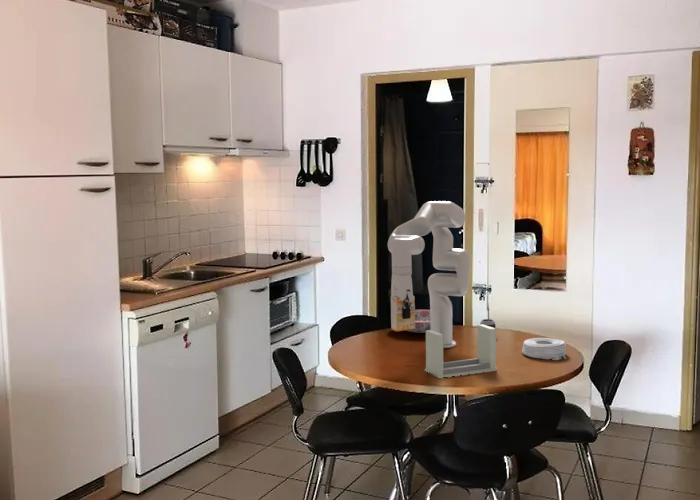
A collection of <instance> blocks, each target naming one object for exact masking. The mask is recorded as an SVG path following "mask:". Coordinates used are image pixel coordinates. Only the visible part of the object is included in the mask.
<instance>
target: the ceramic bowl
mask: <svg viewBox="0 0 700 500" xmlns="http://www.w3.org/2000/svg"><path fill="white" fill-rule="evenodd" d="M453 316H454V315H452V318H453ZM426 330H430V309H415V329H409V330H405V331H407V332H410V333H416V334H417V333H418V334H426Z"/></svg>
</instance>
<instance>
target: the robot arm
mask: <svg viewBox="0 0 700 500" xmlns="http://www.w3.org/2000/svg"><path fill="white" fill-rule="evenodd" d="M465 221H466V213H465V211H464V209H463V208H462V207H461V206H459V205H458V204H456V203H455V202H452V201H449V200H448V201H446V200H442V201H441V200H438V201H436V200H434V201H432V200H431V201H427V202H425V203H423V204H422V206H421V207H420V208H419V210H418V212H416V214H415V216H414V217H413V218H412V219H410V220H408V221H406V222H404V223H401V224H400V225H398V226H396V228H395V229H394V230H393V231H392V233H391V234H390V235H389V238H388V241H387V249H388V251H389V252H390V254H391V280H390V281H391V282H390V284H391V288H390V295H391V296H395V297H398V298H399V301H402V304H403V309H402V318H403V319H408V318H410V317H411V316H410V308H411V304H412V302H413V300H412V298H413V296H414V292H413V291H414V290H413V288H414V287H413V279H412V275H413V270H412V269H413V265H412V263H413V262H412V256H415V255H416V256H417V255H420V254H421V253H423V251H424V250H425V245H426V244H425V243H426V242H425V240H424V238H423V236H426V235H429V234H430V233H432V236H433V244H432V246H433V247H432V266H433V268H435V270H439V271H452V272H453V271H454V272H456V273H447V272H446V273H443V272H437V273H433V274H431V275H430V276H429V277H428V279H427V289H428V294H429V305H430V306H429V308H430V309H429V310H430V330H433V331H435V332H438V333H440V334H443V349H447V348H448V349H449V348H454V347H456V345H457V342H456V341H455V340H453V317H452V316H453V304H452V301H451V300H450V297H449V296H451V297H463V296H464V297H465V296H466V295H467V293H468V291H469V282H470V264H471V263H470V262H471V261H470V254H469V252H468V251H467V250H466V249H464V248H454V236H453V234H452V232H451V230H450V228H454V229H457V228H461V227H463V226H464V224H465ZM391 296H390V297H391ZM405 299H408V300H405ZM405 302H407V303H406V304H405Z"/></svg>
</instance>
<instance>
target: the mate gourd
mask: <svg viewBox="0 0 700 500" xmlns="http://www.w3.org/2000/svg"><path fill="white" fill-rule="evenodd" d="M486 305H487V318H483V319H481V320H480V323H479V325H480V324H484V325H487V326H490V327H493V328H496V326H497V325H496V322H495V320H493V319H490V306H489V305H490V304H489V302H487V303H486ZM496 329H497V328H496Z"/></svg>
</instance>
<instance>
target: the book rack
mask: <svg viewBox="0 0 700 500" xmlns="http://www.w3.org/2000/svg"><path fill="white" fill-rule="evenodd" d="M476 326H477V327H476V328H477V329H476V330H477V333H476V334H477V342H476V343H477V345H476V346H477V347H476V348H477V357H475V358H469V359H461V360H454V361H453V360H452V361H444V348H443V334H440V333H438V332H435V331H433V330H426V333H425V368H424V372H425V371H426V372H425V373H427V372H428V373H427V374H429V373H431V374H433V375H435V376H436V377H435V376H434V377H435V378H437V377H438V378H437V379H439V378H441V379H444V378H443V377H448V378H453V377H452V376H455V377H461V376H460V375H462V376H469V375H468V374H470V375H476V373H477V374H483V372H484V373H490V372H496V371H498V367H497V365H496V364H497V363H496V362H497V359H496V358H497V357H496V356H497V353H496V352H497V350H496V349H497V348H496V347H497V346H496V345H497V343H496V342H497V338H496V336H497V335H496V334H497V333H496V331H497V328H493V327H490V326H487V325H484V324H480V323H479V324H477V325H476ZM431 374H430V375H431ZM433 375H432V376H433Z"/></svg>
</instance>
